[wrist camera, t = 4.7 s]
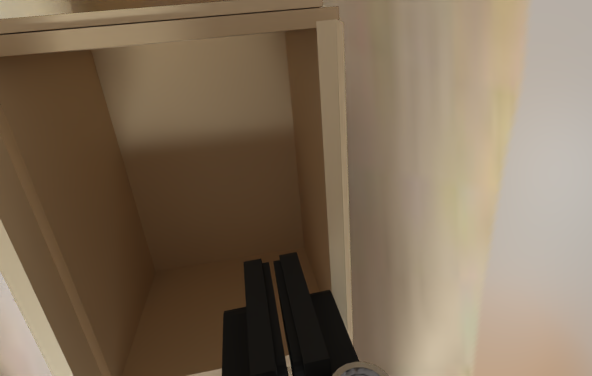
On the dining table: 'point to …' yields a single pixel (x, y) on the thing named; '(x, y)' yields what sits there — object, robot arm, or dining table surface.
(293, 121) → the carton
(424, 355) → the dining table surface
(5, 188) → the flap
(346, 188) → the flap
